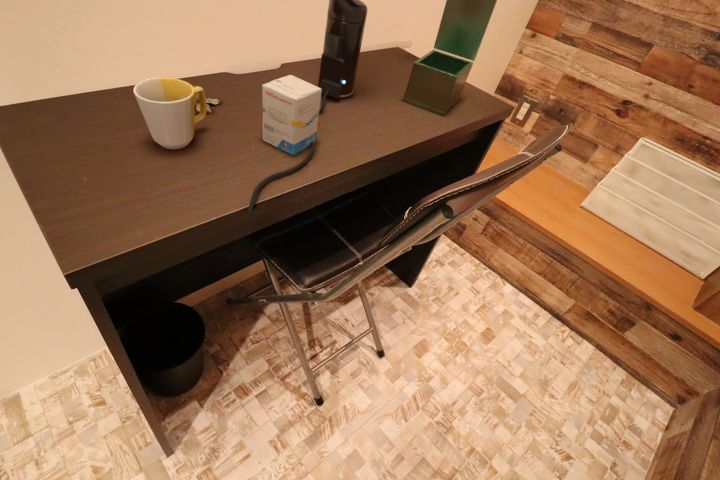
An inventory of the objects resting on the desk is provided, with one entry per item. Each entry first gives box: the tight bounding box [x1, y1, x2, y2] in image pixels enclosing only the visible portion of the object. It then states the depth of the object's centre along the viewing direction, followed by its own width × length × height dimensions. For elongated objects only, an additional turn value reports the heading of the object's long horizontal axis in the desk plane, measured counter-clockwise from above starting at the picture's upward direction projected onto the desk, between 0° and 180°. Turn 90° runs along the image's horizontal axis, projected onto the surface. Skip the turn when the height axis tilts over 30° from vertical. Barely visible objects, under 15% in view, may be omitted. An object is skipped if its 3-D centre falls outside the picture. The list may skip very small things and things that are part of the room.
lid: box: [433, 0, 498, 62], centre depth 94 cm, size 16×12×5 cm
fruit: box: [191, 84, 221, 114], centre depth 83 cm, size 8×8×4 cm
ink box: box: [261, 74, 322, 156], centre depth 74 cm, size 9×8×12 cm
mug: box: [132, 76, 207, 150], centre depth 70 cm, size 14×10×10 cm
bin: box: [402, 49, 474, 116], centre depth 99 cm, size 15×12×10 cm
